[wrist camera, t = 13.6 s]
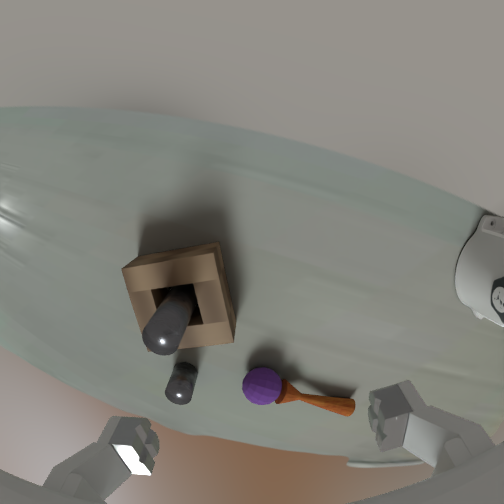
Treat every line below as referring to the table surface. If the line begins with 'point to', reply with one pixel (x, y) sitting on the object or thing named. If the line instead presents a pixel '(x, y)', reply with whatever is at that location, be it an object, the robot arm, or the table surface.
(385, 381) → the table surface
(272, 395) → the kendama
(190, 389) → the short pin
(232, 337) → the hole block
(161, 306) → the long pin
